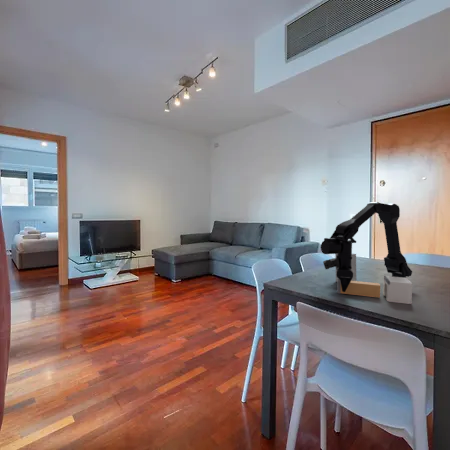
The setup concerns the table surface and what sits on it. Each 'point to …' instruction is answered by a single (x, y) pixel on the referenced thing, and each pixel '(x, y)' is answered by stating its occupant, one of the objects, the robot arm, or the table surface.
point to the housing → (397, 289)
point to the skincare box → (352, 267)
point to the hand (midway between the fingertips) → (343, 288)
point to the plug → (360, 288)
